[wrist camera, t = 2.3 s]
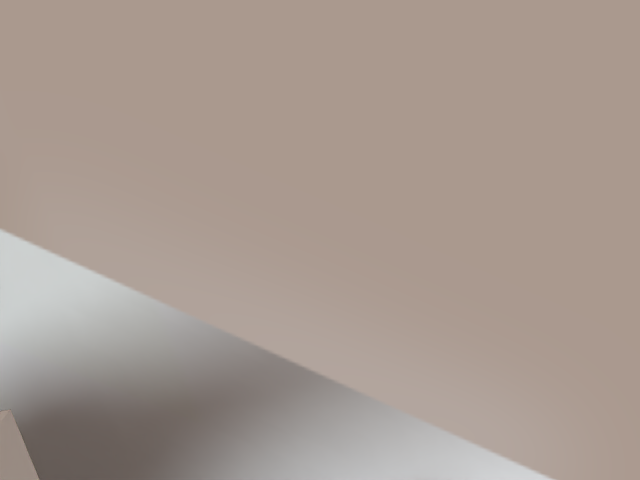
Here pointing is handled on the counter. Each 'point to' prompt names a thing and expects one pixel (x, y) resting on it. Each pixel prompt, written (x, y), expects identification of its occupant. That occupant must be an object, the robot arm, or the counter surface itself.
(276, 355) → the counter surface
